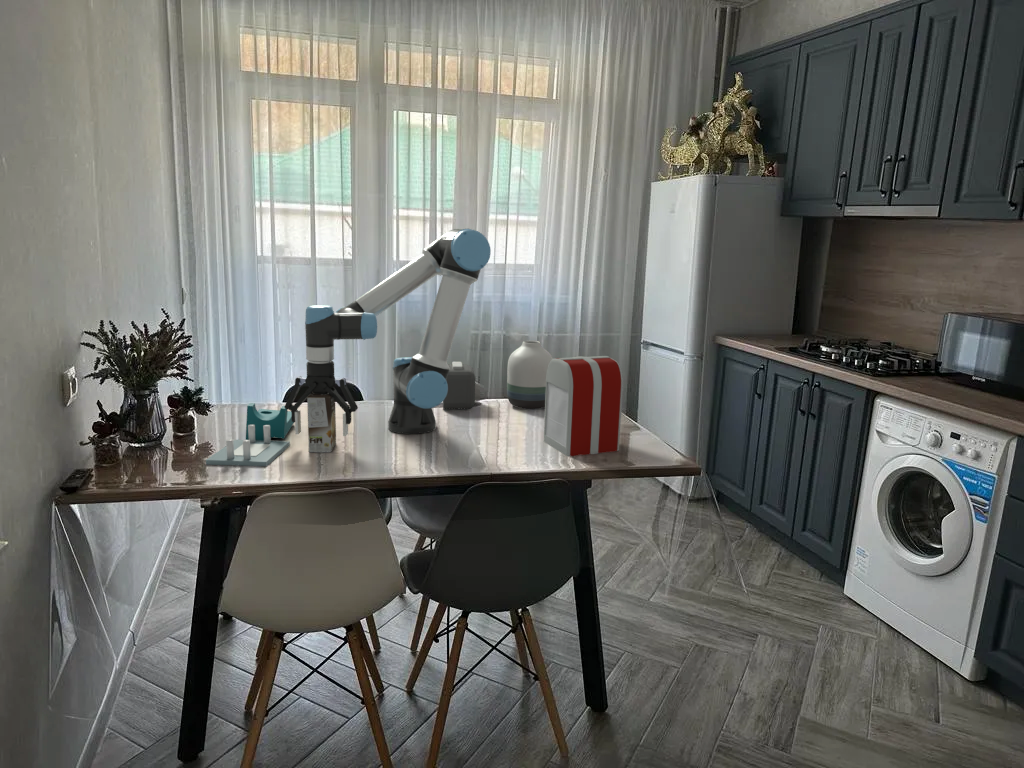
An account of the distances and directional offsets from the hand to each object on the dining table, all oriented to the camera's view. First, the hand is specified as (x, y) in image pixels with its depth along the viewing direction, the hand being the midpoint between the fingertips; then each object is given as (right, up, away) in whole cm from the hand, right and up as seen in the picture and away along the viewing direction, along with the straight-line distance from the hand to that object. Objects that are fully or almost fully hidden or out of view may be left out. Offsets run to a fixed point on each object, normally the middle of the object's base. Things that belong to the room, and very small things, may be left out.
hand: (321, 434), depth 200 cm
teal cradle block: (-20, -1, +15) cm, 25 cm away
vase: (+61, +6, +57) cm, 84 cm away
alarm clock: (+35, +6, +55) cm, 66 cm away
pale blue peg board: (-18, -5, -7) cm, 20 cm away
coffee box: (0, -4, +1) cm, 4 cm away
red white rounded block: (+75, -4, +10) cm, 76 cm away
